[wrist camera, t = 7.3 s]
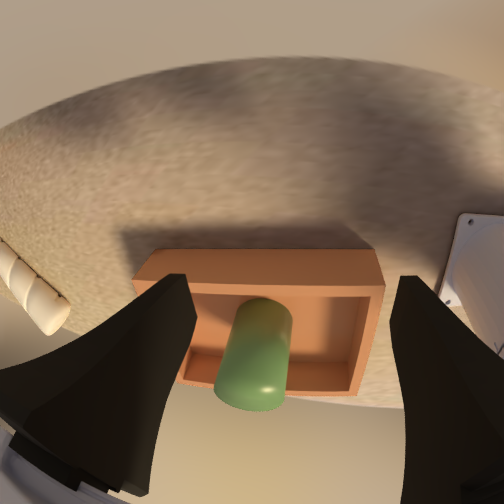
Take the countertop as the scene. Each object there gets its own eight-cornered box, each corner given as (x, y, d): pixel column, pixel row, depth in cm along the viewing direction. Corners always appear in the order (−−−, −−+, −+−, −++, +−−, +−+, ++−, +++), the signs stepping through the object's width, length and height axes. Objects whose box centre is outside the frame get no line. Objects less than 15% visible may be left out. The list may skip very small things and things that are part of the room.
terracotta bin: (374, 249, 19) (385, 285, 16) (354, 360, 25) (356, 395, 22) (155, 249, 22) (131, 279, 19) (190, 351, 28) (177, 383, 25)
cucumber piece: (291, 298, 21) (282, 378, 16) (293, 339, 24) (285, 413, 18) (231, 297, 22) (206, 372, 16) (240, 337, 25) (221, 407, 19)
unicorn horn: (-35, 175, 23) (-61, 190, 18) (77, 300, 29) (54, 329, 25) (-37, 199, 25) (-60, 216, 21) (68, 317, 31) (48, 344, 27)
